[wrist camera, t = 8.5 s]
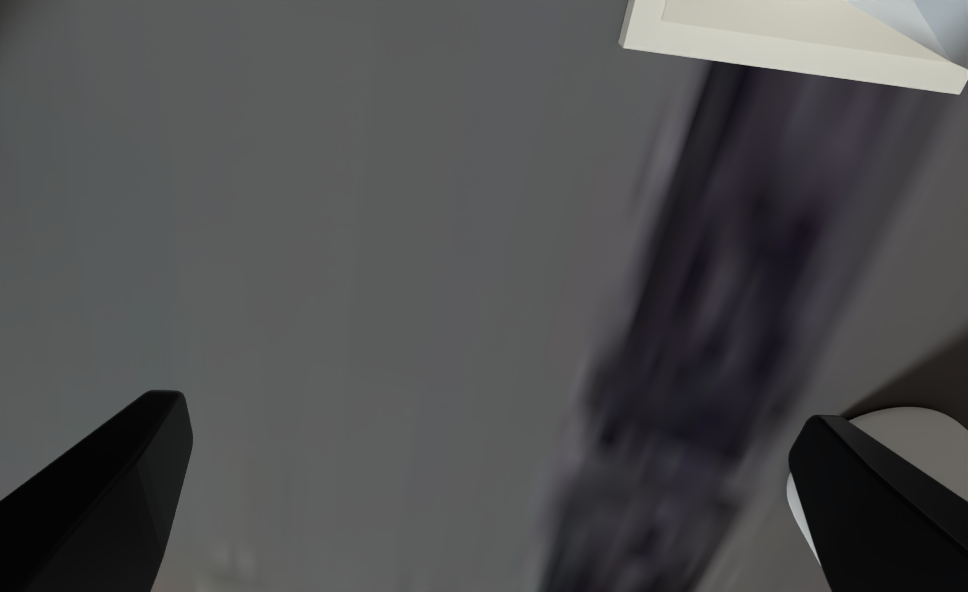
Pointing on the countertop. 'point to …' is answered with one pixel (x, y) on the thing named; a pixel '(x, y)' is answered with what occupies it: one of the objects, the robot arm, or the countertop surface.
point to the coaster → (789, 40)
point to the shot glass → (926, 23)
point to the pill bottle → (910, 449)
